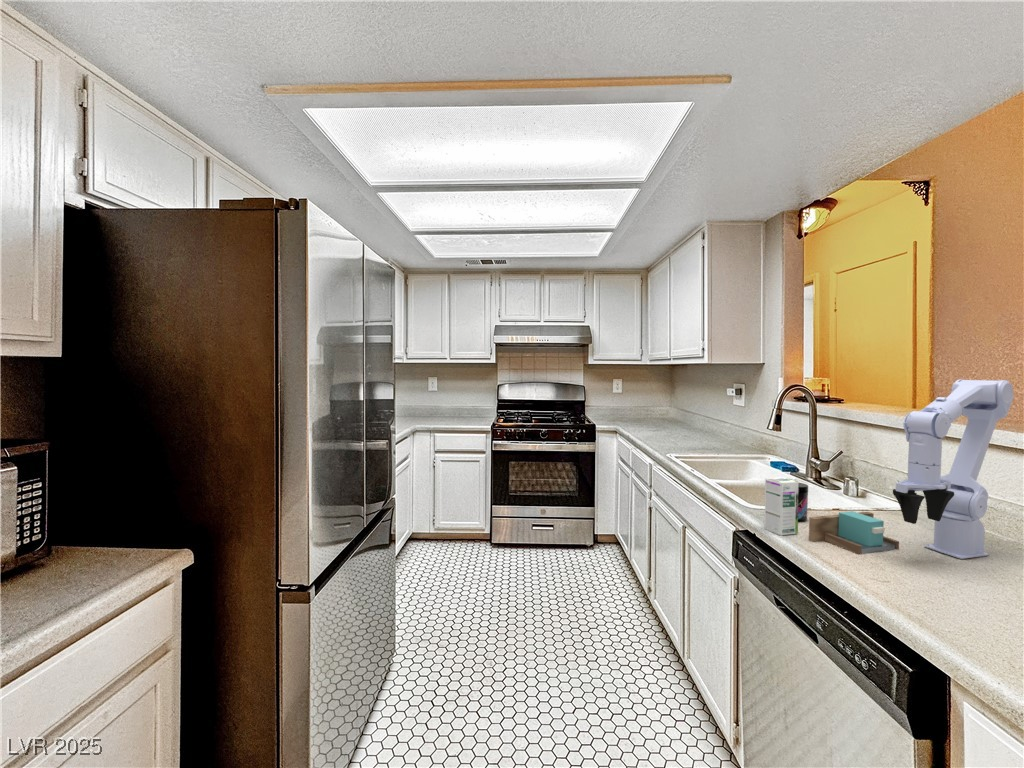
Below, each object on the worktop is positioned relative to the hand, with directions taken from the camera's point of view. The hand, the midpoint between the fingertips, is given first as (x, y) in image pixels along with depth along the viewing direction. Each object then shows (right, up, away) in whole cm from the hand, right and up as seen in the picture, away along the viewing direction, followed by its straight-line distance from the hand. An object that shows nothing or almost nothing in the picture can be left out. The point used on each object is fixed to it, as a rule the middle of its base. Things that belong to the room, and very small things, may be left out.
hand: (922, 521), depth 108 cm
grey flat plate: (-7, -9, +10) cm, 15 cm away
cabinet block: (-7, -8, +10) cm, 15 cm away
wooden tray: (-7, -9, +10) cm, 15 cm away
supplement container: (-11, -9, +30) cm, 34 cm away
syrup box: (-22, -9, +19) cm, 30 cm away
